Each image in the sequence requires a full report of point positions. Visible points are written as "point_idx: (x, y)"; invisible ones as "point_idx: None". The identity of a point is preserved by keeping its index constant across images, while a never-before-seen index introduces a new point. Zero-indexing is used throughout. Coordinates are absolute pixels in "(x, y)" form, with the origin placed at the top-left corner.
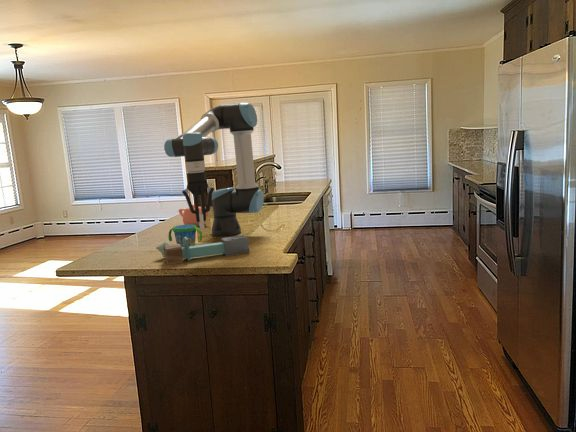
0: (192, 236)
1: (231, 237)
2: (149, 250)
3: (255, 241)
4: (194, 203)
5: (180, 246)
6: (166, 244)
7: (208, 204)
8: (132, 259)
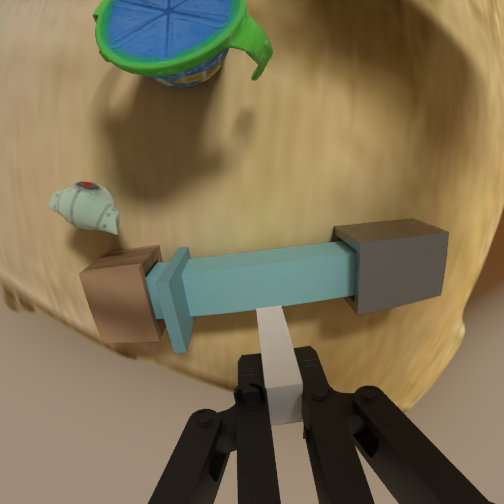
0: (213, 62)
1: (401, 251)
2: (57, 53)
3: (456, 108)
4: (240, 494)
5: (153, 330)
6: (81, 224)
7: (381, 466)
8: (13, 177)
